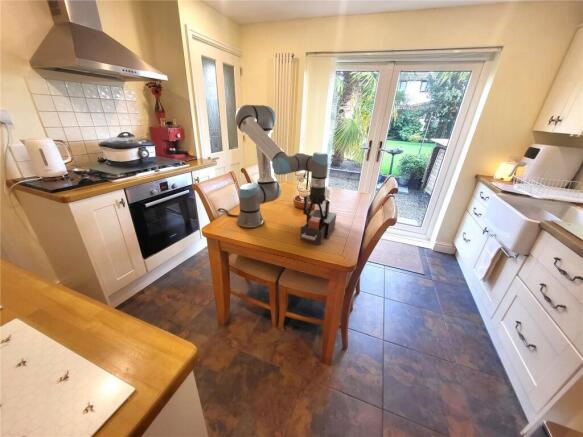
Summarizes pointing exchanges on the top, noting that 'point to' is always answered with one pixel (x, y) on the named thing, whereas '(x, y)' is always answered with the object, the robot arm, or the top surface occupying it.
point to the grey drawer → (313, 234)
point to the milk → (324, 200)
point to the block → (314, 223)
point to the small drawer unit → (327, 221)
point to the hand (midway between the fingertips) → (314, 228)
